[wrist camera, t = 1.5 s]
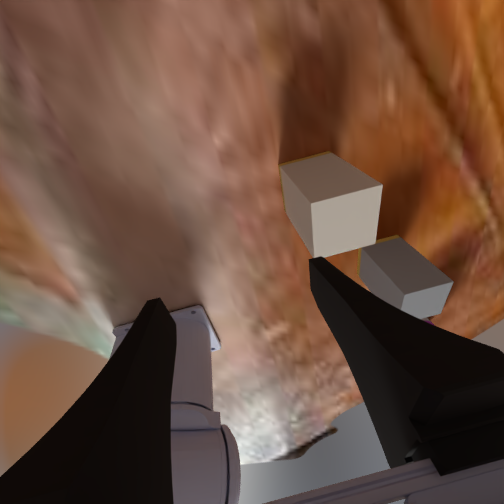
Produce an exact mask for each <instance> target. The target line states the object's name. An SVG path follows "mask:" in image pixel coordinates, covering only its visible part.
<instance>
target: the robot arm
mask: <svg viewBox="0 0 504 504" xmlns="http://www.w3.org/2000/svg"><path fill="white" fill-rule="evenodd" d="M309 271H310V286H311V291H312V294H313V296H314V299H315V301H316V303H317V306H318V308H319V310H320V312H321V314H322V315H323V317H324V319H325V321H326V323H327V324H328V326H329V328H330V330H331V332H332V333H333V335H334V337H335V339H336V341H337V342H338V344H339V346H340V348H341V350H342V352H343V354H344V356H345V358H346V360H347V362H348V365H349V367H350V369H351V371H352V374H353V376H354V378H355V381H356V383H357V385H358V388H359V390H360V393H361V395H362V397H363V400H364V402H365V405H366V407H367V410H368V412H369V414H370V417H371V419H372V422H373V424H374V427H375V430H376V432H377V435H378V438H379V440H380V443H381V445H382V448H383V451H384V453H385V456H386V459H387V461H388V464H389V466H390V468H391V469H388V470H384V471H381V472H377V473H373V474H370V475H366V476H362V477H359V478H355V479H351V480H348V481H344V482H340V483H337V484H333V485H329V486H326V487H322V488H319V489H315V490H311V491H308V492H304V493H300V494H297V495H293V496H290V497H286V498H282V499H278V500H275V501H271V502H267V503H264V504H388V503H391V502H394V501H398V500H402V499H405V502H404V504H504V353H503V352H501V351H500V350H499V349H497V348H494V347H491V346H488V345H485V344H482V343H479V342H476V341H473V340H470V339H467V338H465V337H462V336H459V335H457V334H454V333H452V332H449V331H446V330H444V329H441V328H439V327H437V326H434V325H432V324H430V323H427V322H425V321H423V320H421V319H419V318H417V317H414V316H412V315H410V314H408V313H406V312H404V311H402V310H400V309H398V308H396V307H395V306H393V305H391V304H389V303H387V302H386V301H384V300H382V299H380V298H379V297H377V296H376V295H374V294H372V293H371V292H369V291H368V290H366V289H365V288H363V287H362V286H360V285H359V284H357V283H356V282H355V281H353V280H352V279H350V278H349V277H348V276H346V275H345V274H344V273H342V272H341V271H340V270H338V269H337V268H336V267H335V266H333V265H332V264H331V263H330V262H328V261H327V260H326V259H325V258H323V257H322V256H320V257H316V258H312V259H309ZM113 334H114V335H115V336H116V340H115V343H114V346H113V349H112V352H111V356H110V359H109V361H108V362H107V364H106V365H105V367H104V368H103V369H102V371H101V372H100V373H99V374H98V376H97V377H96V378H95V379H94V381H93V382H92V383H91V385H90V386H89V387H88V388H87V389H86V391H85V392H84V393H83V394H82V395H81V397H80V398H79V399H78V400H77V401H76V402H75V403H74V404H73V405H72V406H71V408H70V409H69V410H68V411H67V412H66V413H65V414H64V416H62V418H61V419H60V420H59V421H58V422H57V423H56V424H55V425H54V426H53V427H52V428H51V429H50V430H49V431H48V432H47V433H46V434H45V435H44V436H43V437H42V438H41V439H40V440H39V441H38V442H37V443H36V444H35V445H34V446H33V447H32V448H31V449H30V450H29V451H28V452H27V453H26V454H25V455H24V456H22V457H21V458H20V459H19V460H18V461H17V462H16V463H15V464H14V465H13V466H12V467H10V468H9V469H8V470H7V471H6V472H5V473H4V474H3V475H2V476H1V477H0V504H238V501H239V495H240V477H241V474H240V458H239V451H238V446H237V443H236V440H235V437H234V436H233V434H232V433H231V431H230V429H229V428H228V426H226V425H221V422H220V412H214V411H213V389H212V363H211V352H212V351H216V350H219V349H221V343H220V341H219V339H218V337H217V335H216V333H215V331H214V329H213V327H212V325H211V323H210V321H209V319H208V317H207V315H206V313H205V311H204V309H203V307H202V306H200V305H196V306H193V307H189V308H185V309H182V310H178V311H174V312H170V313H169V311H168V310H167V308H166V306H165V305H164V303H163V302H162V300H161V298H156V299H152V300H148V301H147V302H146V304H145V305H144V307H143V308H142V310H141V312H140V313H139V315H138V317H137V318H136V320H135V322H133V323H130V324H126V325H122V326H118V327H115V328H114V329H113Z"/></svg>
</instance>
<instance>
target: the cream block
mask: <svg viewBox="0 0 504 504" xmlns="http://www.w3.org/2000/svg"><path fill="white" fill-rule="evenodd" d="M278 167H279V174H280V181H281V188H282V196H283V203H284V210H285V212H286V214H287V215H288V217H289V219H290V220H291V222H292V224H293V225H294V227H295V229H296V230H297V232H298V234H299V235H300V237H301V239H302V240H303V242H304V244H305V245H306V247H307V249H308V250H309V252H310V254H311V255H312V257H313V258H316V257H320V256H322V257H323V258H324V257H328V256H331V255H335V254H339V253H343V252H346V251H350V250H354V249H358V248H361V247H365V246H369V245H372V244H375V242H376V234H377V226H378V218H379V210H380V203H381V195H382V187H383V184H381V183H379V182H378V181H376V180H375V179H373V178H371V177H370V176H368V175H367V174H365V173H363V172H362V171H360V170H359V169H357V168H355V167H354V166H352V165H351V164H349V163H348V162H346V161H344V160H343V159H341V158H340V157H338V156H336V155H335V154H333V153H332V152H330V151H327V152H323V153H319V154H315V155H312V156H308V157H304V158H300V159H296V160H293V161H289V162H285V163H281V164H278Z"/></svg>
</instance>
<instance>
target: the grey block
mask: <svg viewBox="0 0 504 504" xmlns="http://www.w3.org/2000/svg"><path fill="white" fill-rule="evenodd" d="M357 274H358V276H359V277H360V278H361V280H362V281H363V282H364V284H365V285H366V286H367V287H368V289H369V290H370V291H371V293H372V294H374V295H376V296H377V297H379V298H380V299H382V300H384V301H386V302H387V303H389V304H391V305H393V306H395V307H396V308H398V309H400V310H402V311H404V312H406V313H408V314H410V315H412V316H414V317H417V318H419V319H422V318H426V317H430V316H433V315H437V314H441V311H442V309H443V306H444V304H445V302H446V299H447V297H448V294H449V292H450V289H451V287H452V285H453V282H454V281H452V280H451V279H450V278H449V277H448V276H446V275H445V274H444V273H443V272H442V271H440V270H439V269H438V268H437V267H436V266H434V265H433V264H432V263H431V262H430V261H428V260H427V259H426V258H425V257H424V256H422V255H421V254H420V253H419V252H418V251H416V250H415V249H414V248H413V247H412V246H410V245H409V244H408V243H407V242H406V241H404V240H403V239H402V238H401V237H400V236H398V235H394V236H390V237H386V238H383V239H379V240H376V242H375V244H372V245H369V246H365V247H361V248H359V252H358V265H357Z"/></svg>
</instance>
